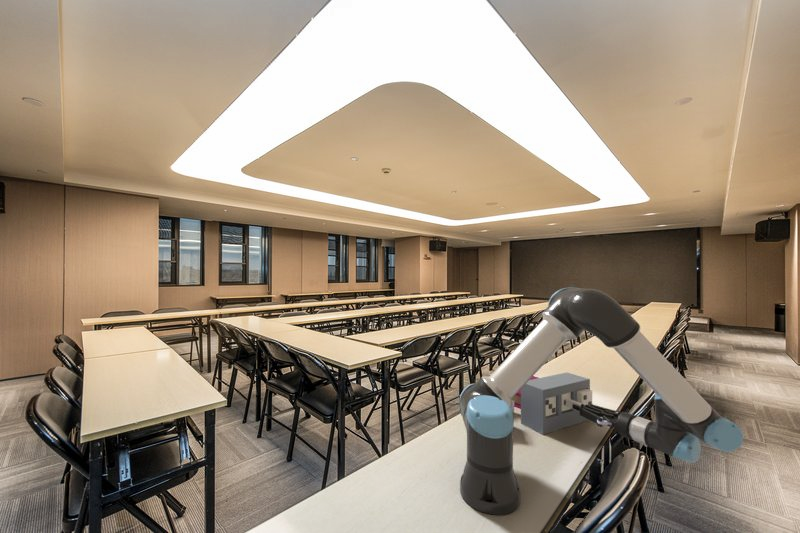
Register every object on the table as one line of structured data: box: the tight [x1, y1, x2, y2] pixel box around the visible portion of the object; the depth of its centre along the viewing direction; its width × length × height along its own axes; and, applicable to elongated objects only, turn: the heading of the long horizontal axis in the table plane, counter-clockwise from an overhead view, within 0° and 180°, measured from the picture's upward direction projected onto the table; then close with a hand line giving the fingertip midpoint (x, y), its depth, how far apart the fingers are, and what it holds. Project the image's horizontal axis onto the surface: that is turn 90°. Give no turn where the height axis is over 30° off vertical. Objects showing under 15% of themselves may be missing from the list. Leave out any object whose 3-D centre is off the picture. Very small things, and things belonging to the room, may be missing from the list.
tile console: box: [520, 372, 591, 436], centre depth 128 cm, size 28×10×16 cm, turn 118°
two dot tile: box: [577, 389, 593, 405], centre depth 127 cm, size 7×3×7 cm, turn 118°
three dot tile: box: [546, 396, 556, 416], centre depth 121 cm, size 7×3×7 cm, turn 118°
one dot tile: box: [562, 392, 571, 411], centre depth 125 cm, size 7×3×7 cm, turn 118°
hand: (567, 402), depth 124 cm, fingers closed
